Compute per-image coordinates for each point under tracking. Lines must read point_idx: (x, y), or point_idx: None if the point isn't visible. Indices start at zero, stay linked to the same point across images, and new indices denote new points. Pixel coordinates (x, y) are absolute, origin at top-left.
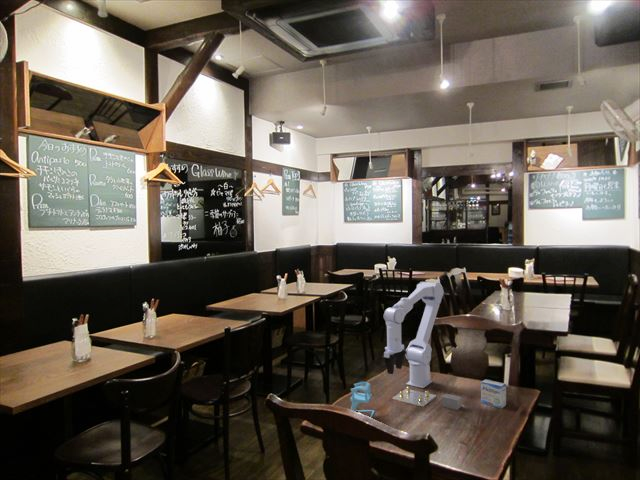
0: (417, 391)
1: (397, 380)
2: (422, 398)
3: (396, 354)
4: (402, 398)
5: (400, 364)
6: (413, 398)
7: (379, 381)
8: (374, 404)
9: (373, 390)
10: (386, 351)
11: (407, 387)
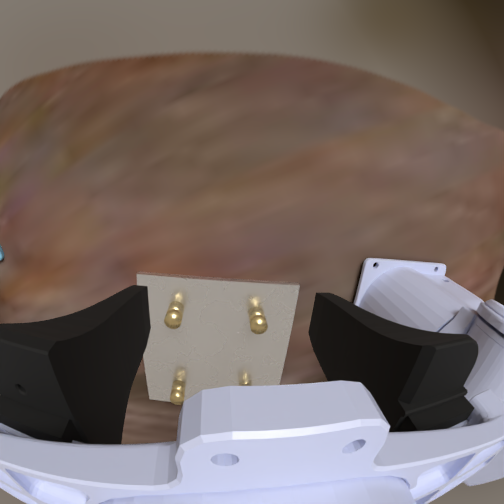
0: (284, 343)
1: (408, 192)
2: (211, 382)
3: (380, 383)
4: (159, 318)
5: (321, 355)
6: (189, 356)
7: (358, 104)
8: (44, 224)
9: (202, 123)
10: (5, 459)
11: (252, 325)
